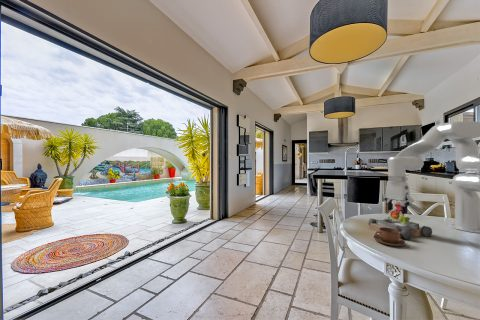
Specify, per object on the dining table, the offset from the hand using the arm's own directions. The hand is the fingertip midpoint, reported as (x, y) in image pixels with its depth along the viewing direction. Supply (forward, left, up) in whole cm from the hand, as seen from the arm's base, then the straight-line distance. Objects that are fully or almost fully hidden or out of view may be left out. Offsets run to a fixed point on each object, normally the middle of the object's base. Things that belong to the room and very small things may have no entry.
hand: (397, 211), depth 110 cm
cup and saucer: (+19, +10, -11) cm, 24 cm away
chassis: (-1, 0, -11) cm, 11 cm away
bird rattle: (0, +1, -6) cm, 6 cm away
